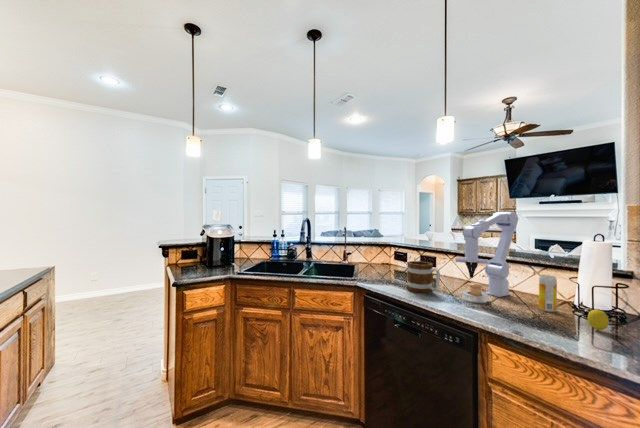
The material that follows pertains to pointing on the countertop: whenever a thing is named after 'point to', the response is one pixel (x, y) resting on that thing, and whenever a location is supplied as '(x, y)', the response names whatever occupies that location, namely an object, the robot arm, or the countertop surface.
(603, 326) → the lemon
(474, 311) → the countertop surface
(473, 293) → the tan cup
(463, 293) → the round grey ashtray
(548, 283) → the beer can
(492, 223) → the robot arm
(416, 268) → the mug
